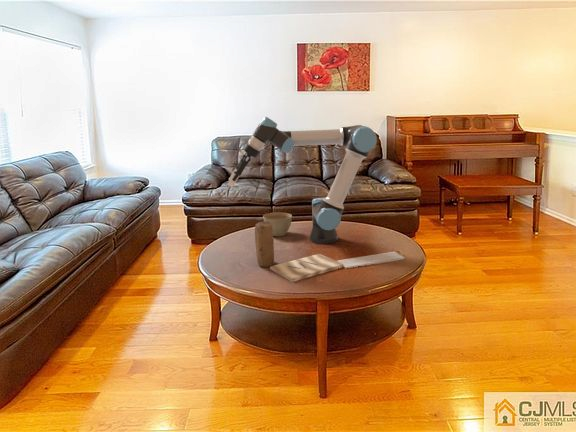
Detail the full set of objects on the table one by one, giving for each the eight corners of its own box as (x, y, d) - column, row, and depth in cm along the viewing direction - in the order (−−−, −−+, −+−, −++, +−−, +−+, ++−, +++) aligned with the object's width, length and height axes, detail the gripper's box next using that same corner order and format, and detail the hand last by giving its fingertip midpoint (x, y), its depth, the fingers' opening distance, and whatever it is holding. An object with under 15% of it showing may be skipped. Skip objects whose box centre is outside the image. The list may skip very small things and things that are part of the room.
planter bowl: (286, 239, 254) (285, 220, 251) (259, 237, 259) (258, 218, 257) (296, 231, 268) (295, 213, 266) (270, 229, 274) (269, 211, 271)
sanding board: (319, 256, 226) (319, 253, 226) (343, 267, 211) (343, 264, 211) (270, 269, 211) (270, 266, 211) (292, 281, 197) (292, 278, 196)
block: (275, 266, 215) (273, 225, 210) (259, 268, 213) (257, 226, 208) (270, 258, 225) (268, 219, 220) (255, 260, 223) (252, 220, 218)
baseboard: (334, 261, 221) (345, 270, 210) (334, 255, 220) (345, 264, 209) (391, 252, 230) (404, 260, 219) (391, 247, 229) (404, 254, 218)
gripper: (247, 140, 234) (224, 175, 237) (247, 145, 210) (222, 184, 213) (259, 148, 236) (237, 182, 239) (261, 154, 211) (236, 192, 215)
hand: (230, 183), depth 226 cm, fingers open, 13 cm apart
